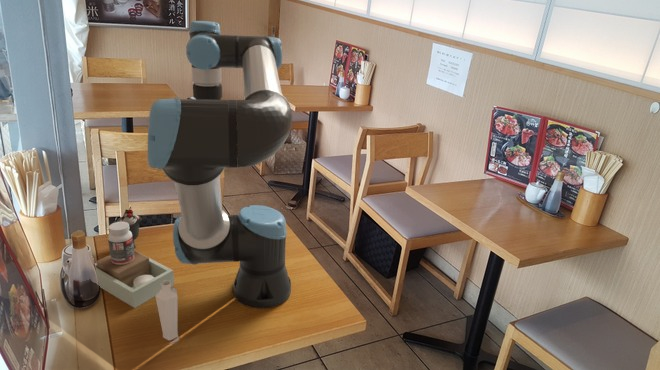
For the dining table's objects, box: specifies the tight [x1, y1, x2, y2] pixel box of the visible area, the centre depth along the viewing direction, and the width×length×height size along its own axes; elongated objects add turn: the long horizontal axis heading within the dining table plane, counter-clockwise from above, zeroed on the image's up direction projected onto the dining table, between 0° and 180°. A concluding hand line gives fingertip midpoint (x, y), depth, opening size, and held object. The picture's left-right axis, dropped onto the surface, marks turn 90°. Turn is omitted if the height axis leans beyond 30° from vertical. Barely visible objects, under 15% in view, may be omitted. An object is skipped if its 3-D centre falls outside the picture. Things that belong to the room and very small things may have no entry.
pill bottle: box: [107, 221, 135, 265], centre depth 118 cm, size 6×6×10 cm
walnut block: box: [95, 250, 151, 288], centre depth 122 cm, size 9×9×6 cm
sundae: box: [116, 206, 143, 250], centre depth 134 cm, size 7×7×15 cm
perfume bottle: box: [155, 281, 180, 345], centre depth 102 cm, size 5×4×15 cm
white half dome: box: [133, 275, 154, 289], centre depth 118 cm, size 5×5×3 cm
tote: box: [94, 249, 175, 309], centre depth 121 cm, size 18×12×6 cm, turn 58°
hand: (210, 158), depth 131 cm, fingers open, 13 cm apart
